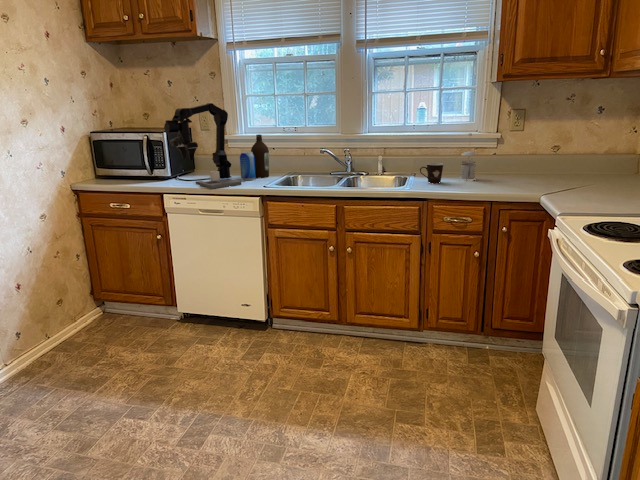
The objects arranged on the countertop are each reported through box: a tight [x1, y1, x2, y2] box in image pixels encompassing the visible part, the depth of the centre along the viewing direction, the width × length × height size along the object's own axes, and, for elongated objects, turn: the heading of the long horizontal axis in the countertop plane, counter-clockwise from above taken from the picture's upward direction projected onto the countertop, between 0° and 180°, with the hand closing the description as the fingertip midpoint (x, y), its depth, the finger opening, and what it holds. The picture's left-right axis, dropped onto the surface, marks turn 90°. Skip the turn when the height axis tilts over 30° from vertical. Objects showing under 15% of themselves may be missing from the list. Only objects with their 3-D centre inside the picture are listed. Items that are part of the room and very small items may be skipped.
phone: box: [195, 180, 205, 186], centre depth 271 cm, size 4×7×1 cm, turn 40°
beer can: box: [239, 151, 256, 182], centre depth 280 cm, size 8×8×16 cm
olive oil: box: [250, 134, 270, 179], centre depth 287 cm, size 11×11×25 cm
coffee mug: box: [419, 162, 444, 184], centre depth 257 cm, size 12×9×10 cm
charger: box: [209, 170, 221, 181], centre depth 278 cm, size 4×4×6 cm
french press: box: [459, 133, 477, 180], centre depth 260 cm, size 10×12×25 cm
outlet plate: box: [199, 177, 242, 190], centre depth 265 cm, size 18×14×2 cm
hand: (187, 159), depth 272 cm, fingers open, 9 cm apart
